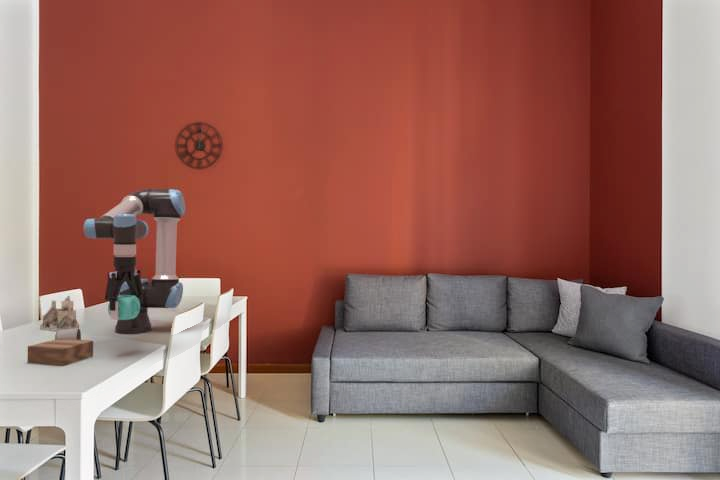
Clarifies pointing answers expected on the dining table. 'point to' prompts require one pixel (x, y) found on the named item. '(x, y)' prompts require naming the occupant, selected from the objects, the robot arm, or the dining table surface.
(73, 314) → the ceramic cottage
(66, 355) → the walnut block
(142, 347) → the dining table surface
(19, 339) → the dining table surface
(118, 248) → the robot arm
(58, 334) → the ceramic mug
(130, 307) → the decorative dice
